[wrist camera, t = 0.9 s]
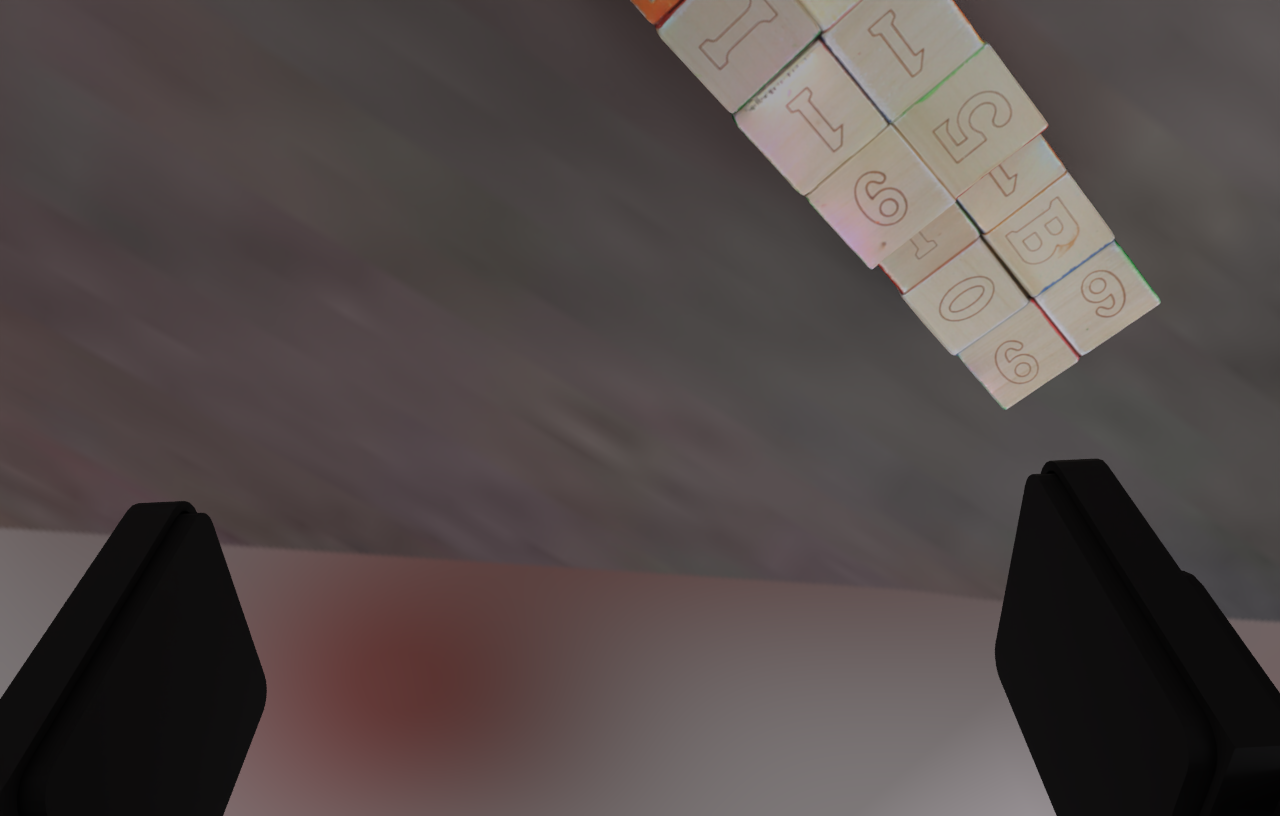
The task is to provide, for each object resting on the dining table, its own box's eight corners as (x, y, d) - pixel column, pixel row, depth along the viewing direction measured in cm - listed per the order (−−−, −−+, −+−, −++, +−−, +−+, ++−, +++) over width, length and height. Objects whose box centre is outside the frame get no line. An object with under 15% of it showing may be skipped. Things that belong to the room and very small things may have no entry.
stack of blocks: (1061, 206, 41) (1211, 350, 31) (931, 302, 43) (1031, 467, 33) (721, -261, 33) (768, -283, 22) (581, -113, 35) (564, -72, 24)
